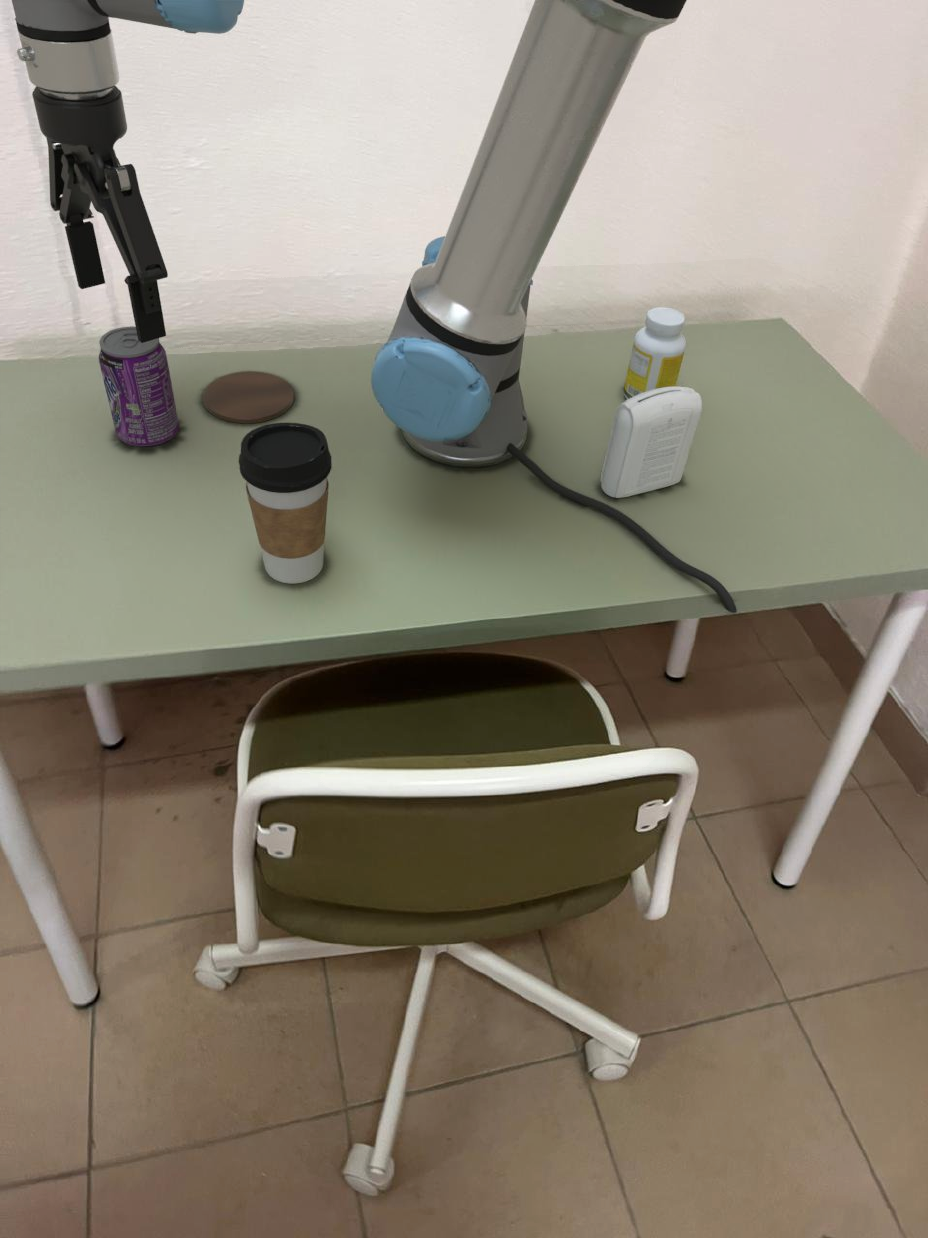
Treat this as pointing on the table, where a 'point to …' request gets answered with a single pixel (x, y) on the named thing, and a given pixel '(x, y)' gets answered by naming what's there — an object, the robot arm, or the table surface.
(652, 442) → the photo printer
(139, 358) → the beverage can
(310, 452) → the coffee cup
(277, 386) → the coaster
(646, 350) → the pill bottle
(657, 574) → the table surface
